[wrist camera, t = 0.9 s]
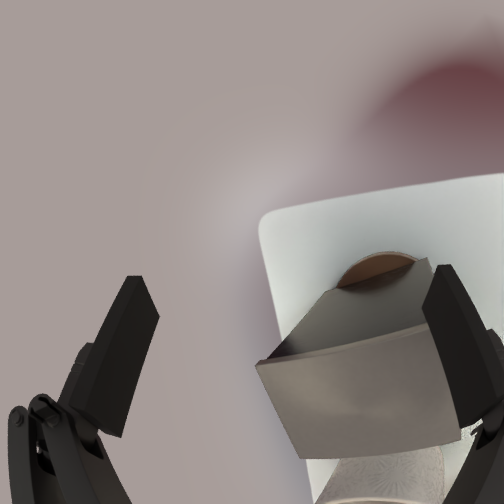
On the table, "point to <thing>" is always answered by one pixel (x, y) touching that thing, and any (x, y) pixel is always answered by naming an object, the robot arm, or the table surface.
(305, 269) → the table surface
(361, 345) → the bin
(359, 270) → the disc
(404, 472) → the planter
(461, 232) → the table surface
